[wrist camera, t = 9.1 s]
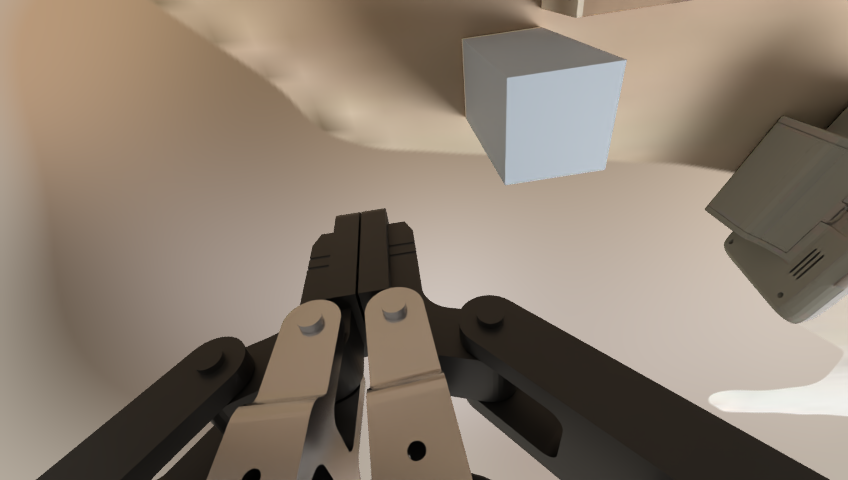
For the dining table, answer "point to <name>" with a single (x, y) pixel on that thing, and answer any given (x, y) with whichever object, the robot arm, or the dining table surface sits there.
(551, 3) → the walnut block
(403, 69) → the dining table surface
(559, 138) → the slate-blue block
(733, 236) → the digital clock
